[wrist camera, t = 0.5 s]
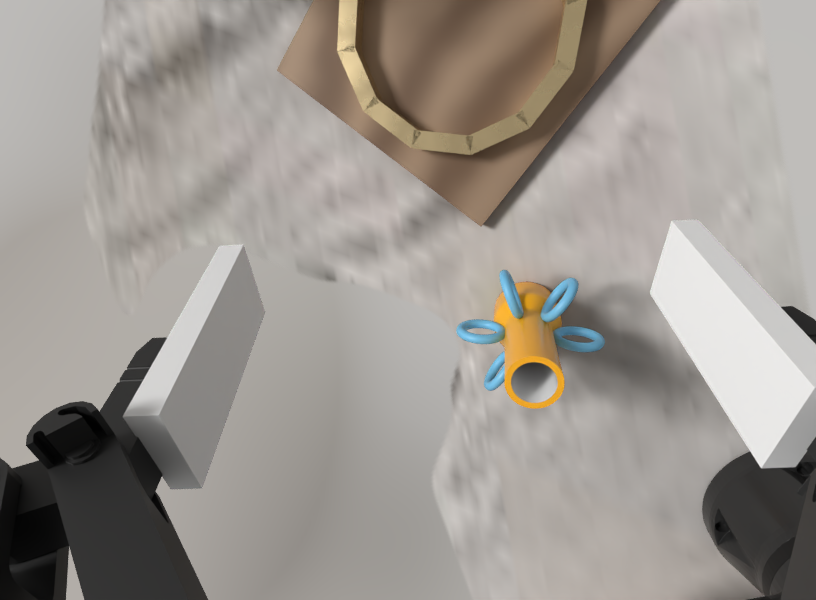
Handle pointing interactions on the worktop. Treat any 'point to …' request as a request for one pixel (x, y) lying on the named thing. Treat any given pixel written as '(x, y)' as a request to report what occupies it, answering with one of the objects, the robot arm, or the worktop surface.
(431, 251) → the worktop surface
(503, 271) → the cylinder
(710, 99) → the worktop surface
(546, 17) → the seat plate
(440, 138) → the tan flat ring
